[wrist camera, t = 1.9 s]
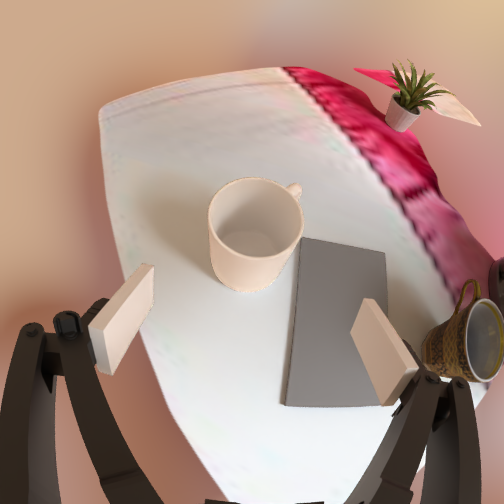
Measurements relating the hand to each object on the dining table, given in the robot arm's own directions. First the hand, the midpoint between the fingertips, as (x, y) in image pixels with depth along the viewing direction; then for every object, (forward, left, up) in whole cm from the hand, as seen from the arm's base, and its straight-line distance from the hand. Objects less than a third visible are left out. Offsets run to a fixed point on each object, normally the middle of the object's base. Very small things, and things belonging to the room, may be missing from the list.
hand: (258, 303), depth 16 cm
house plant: (+33, -42, -14) cm, 55 cm away
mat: (-2, -12, -14) cm, 18 cm away
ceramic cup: (-9, -26, -14) cm, 31 cm away
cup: (+9, -4, -14) cm, 17 cm away
